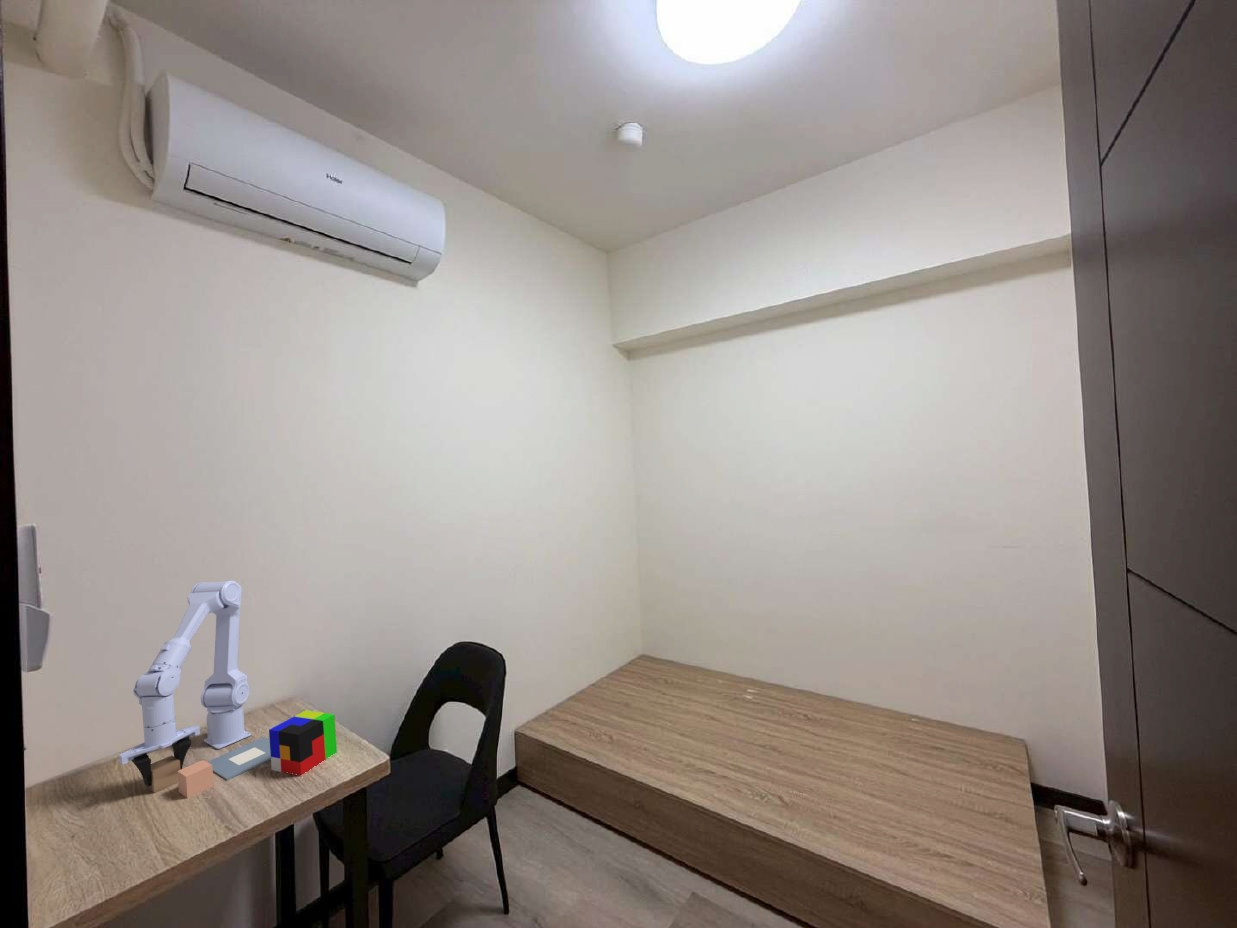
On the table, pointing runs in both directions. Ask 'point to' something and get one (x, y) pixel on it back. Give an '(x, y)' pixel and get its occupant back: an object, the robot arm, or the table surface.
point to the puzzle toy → (302, 742)
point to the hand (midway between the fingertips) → (163, 778)
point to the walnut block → (164, 773)
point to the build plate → (242, 759)
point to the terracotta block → (195, 778)
